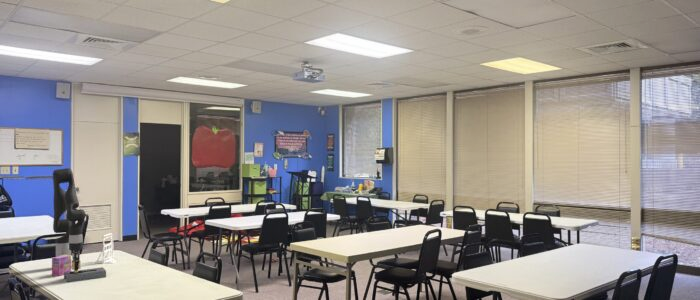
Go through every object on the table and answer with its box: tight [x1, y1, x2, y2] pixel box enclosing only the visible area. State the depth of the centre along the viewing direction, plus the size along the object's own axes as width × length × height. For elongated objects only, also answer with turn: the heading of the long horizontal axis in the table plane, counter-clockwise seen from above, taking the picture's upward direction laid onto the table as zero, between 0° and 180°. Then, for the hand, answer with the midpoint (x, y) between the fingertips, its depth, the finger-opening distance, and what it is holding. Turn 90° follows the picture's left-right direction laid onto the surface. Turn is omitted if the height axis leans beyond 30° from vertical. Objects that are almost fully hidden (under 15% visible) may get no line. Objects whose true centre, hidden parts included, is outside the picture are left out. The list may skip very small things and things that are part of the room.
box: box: [51, 254, 72, 277], centre depth 317 cm, size 10×6×12 cm, turn 168°
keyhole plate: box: [63, 267, 107, 283], centre depth 307 cm, size 22×12×4 cm, turn 126°
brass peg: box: [71, 259, 82, 274], centre depth 304 cm, size 5×5×10 cm
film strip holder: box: [94, 232, 123, 265], centre depth 355 cm, size 14×14×20 cm
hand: (75, 269), depth 304 cm, fingers closed on brass peg, 4 cm apart
